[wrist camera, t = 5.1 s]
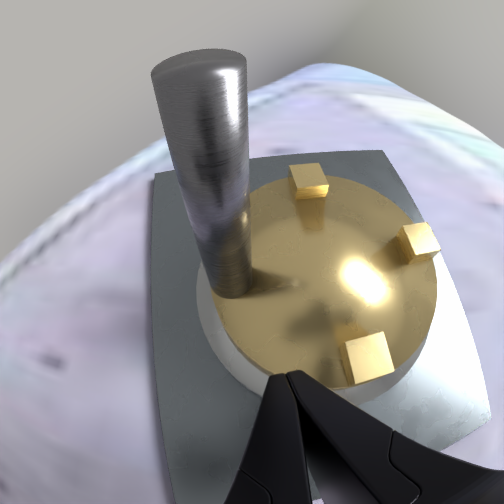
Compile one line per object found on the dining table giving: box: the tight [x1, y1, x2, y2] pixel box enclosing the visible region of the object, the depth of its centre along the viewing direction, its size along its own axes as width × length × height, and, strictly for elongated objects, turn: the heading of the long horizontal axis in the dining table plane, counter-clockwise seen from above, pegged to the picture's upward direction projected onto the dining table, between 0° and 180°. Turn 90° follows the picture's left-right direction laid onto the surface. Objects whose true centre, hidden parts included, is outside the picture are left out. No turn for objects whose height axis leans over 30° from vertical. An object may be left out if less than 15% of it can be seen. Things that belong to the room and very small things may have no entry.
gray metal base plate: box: [151, 150, 491, 504], centre depth 17 cm, size 24×20×2 cm
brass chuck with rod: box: [151, 49, 441, 391], centre depth 11 cm, size 12×12×12 cm
